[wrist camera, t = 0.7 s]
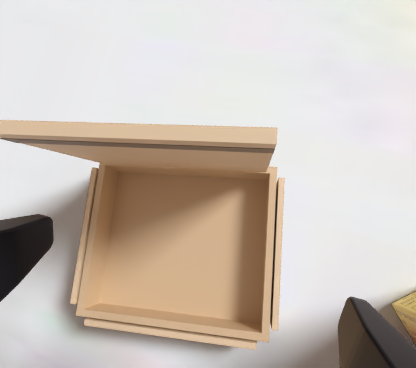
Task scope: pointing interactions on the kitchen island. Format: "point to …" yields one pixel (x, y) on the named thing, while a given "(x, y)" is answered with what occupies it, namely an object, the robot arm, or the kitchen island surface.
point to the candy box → (407, 313)
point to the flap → (151, 143)
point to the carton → (182, 253)
